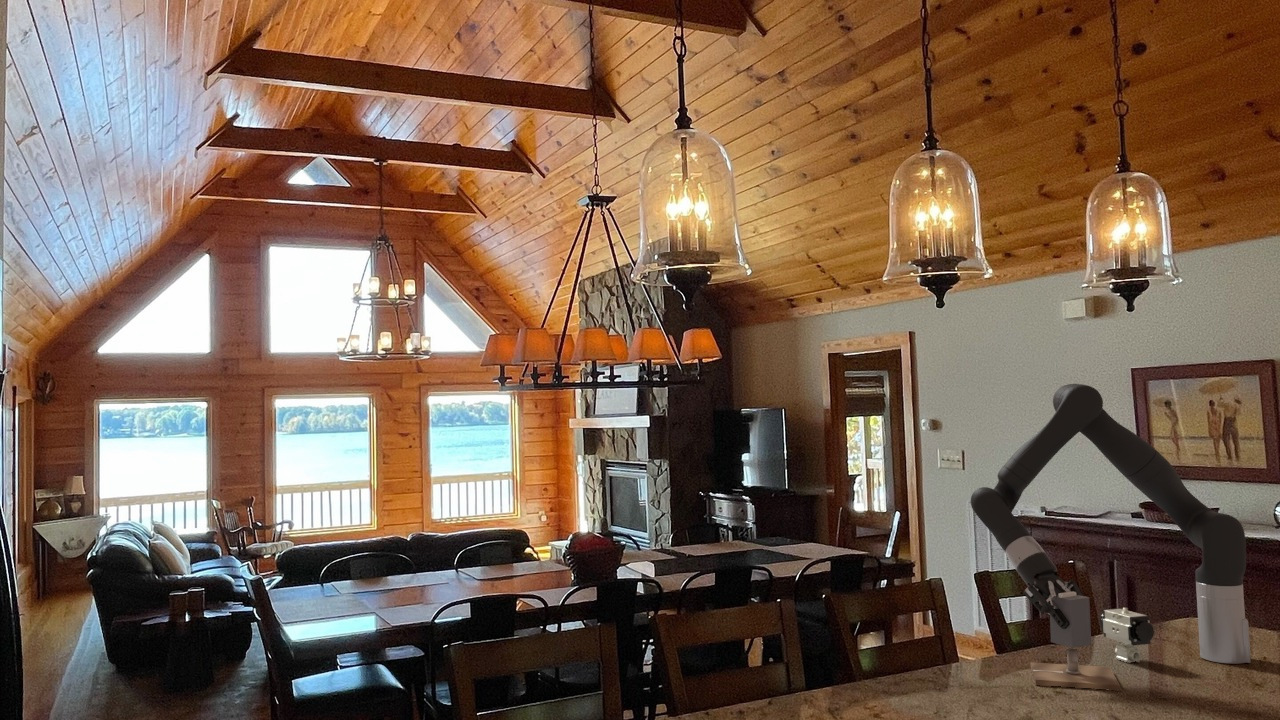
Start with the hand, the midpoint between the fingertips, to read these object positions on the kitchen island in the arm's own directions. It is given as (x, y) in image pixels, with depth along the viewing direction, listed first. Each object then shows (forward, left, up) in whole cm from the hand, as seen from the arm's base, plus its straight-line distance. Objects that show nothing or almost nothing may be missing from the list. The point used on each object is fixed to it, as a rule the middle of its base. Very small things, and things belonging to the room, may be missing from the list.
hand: (1077, 625), depth 197 cm
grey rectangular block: (+1, -1, -4) cm, 5 cm away
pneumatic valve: (-12, -19, -12) cm, 26 cm away
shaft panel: (+1, -1, -12) cm, 12 cm away
